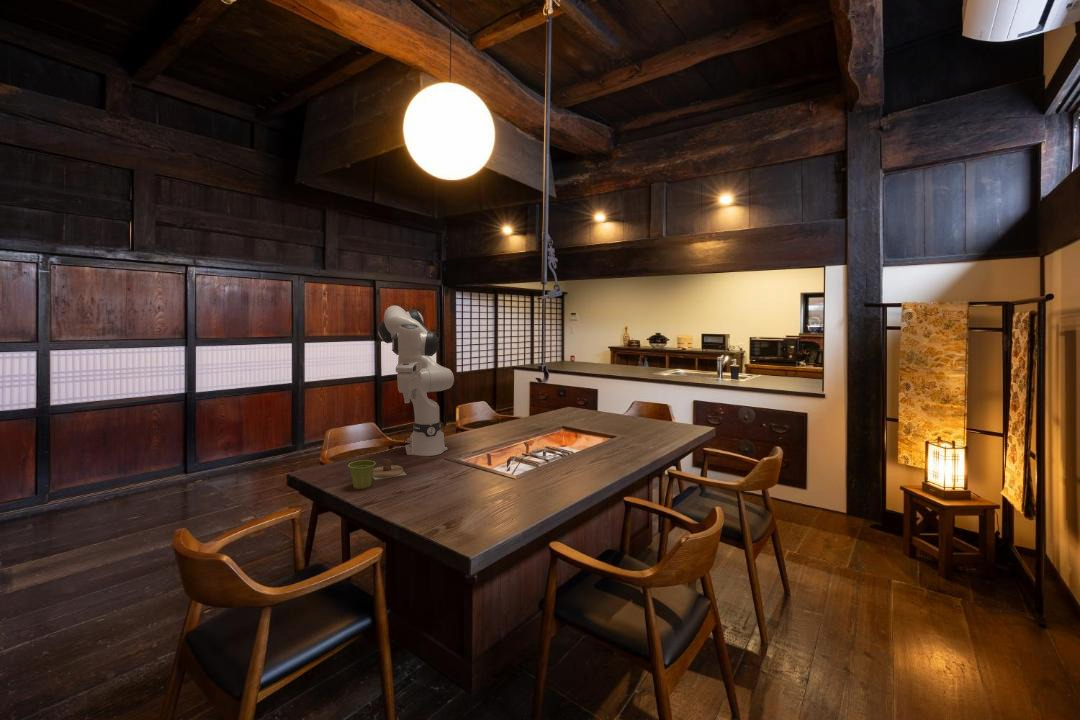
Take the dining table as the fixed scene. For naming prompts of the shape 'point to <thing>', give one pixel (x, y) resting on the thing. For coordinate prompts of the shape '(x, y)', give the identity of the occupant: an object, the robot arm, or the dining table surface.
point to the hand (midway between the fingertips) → (410, 400)
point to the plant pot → (362, 473)
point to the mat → (389, 477)
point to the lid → (387, 470)
